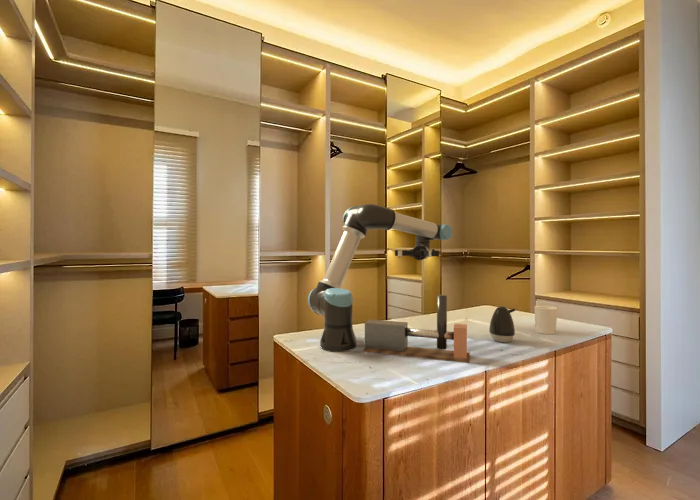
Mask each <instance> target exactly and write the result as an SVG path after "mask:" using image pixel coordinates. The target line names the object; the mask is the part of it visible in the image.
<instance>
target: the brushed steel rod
mask: <svg viewBox="0 0 700 500" xmlns="http://www.w3.org/2000/svg"><path fill="white" fill-rule="evenodd" d="M447 310H448V295H445V294H437V296H436V330H435V329H424V328H423V329H422V328H421V329H420V328H410V327H408V328H405V336H408V337H415V338H426V339H436V349H440V350H448V349H447V348H448V347H447V345H448V343H447V340H449V341H454V331H450V330H448V329H447V328H448V327H447V326H448V324H447V323H448V321H447V320H448V317H447V316H448V314H447V313H448V311H447Z"/></svg>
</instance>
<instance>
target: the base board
mask: <svg viewBox="0 0 700 500" xmlns="http://www.w3.org/2000/svg"><path fill="white" fill-rule="evenodd" d="M363 352H364V353H375V354H382V355H383V354H385V355H392V356H393V355H394V356H401V357H402V356H403V357H413V358H423V359H431V360H440V361H441V360H442V361H451V362H458V363H459V362H461V363H469V364H470V363H471V362H470V361H471V360H470V356H471V355H470V351H467V359H465V358H455V357H454V350H449V349H438V348H427V347H418V346H417V347H416V346H408V347H407V349H406V351H405V352H398V351H388V350H378V349H368V348H365V347H364V348H363Z"/></svg>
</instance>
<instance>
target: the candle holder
mask: <svg viewBox="0 0 700 500" xmlns="http://www.w3.org/2000/svg"><path fill="white" fill-rule="evenodd" d="M533 309H534V322H535V323H534V326H535V332H536V333H538V332H539V333H538V334H542V333H544V334H543V335H555V334H556V330H557V321H558V307H556V306H552V305H534V306H533Z"/></svg>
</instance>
